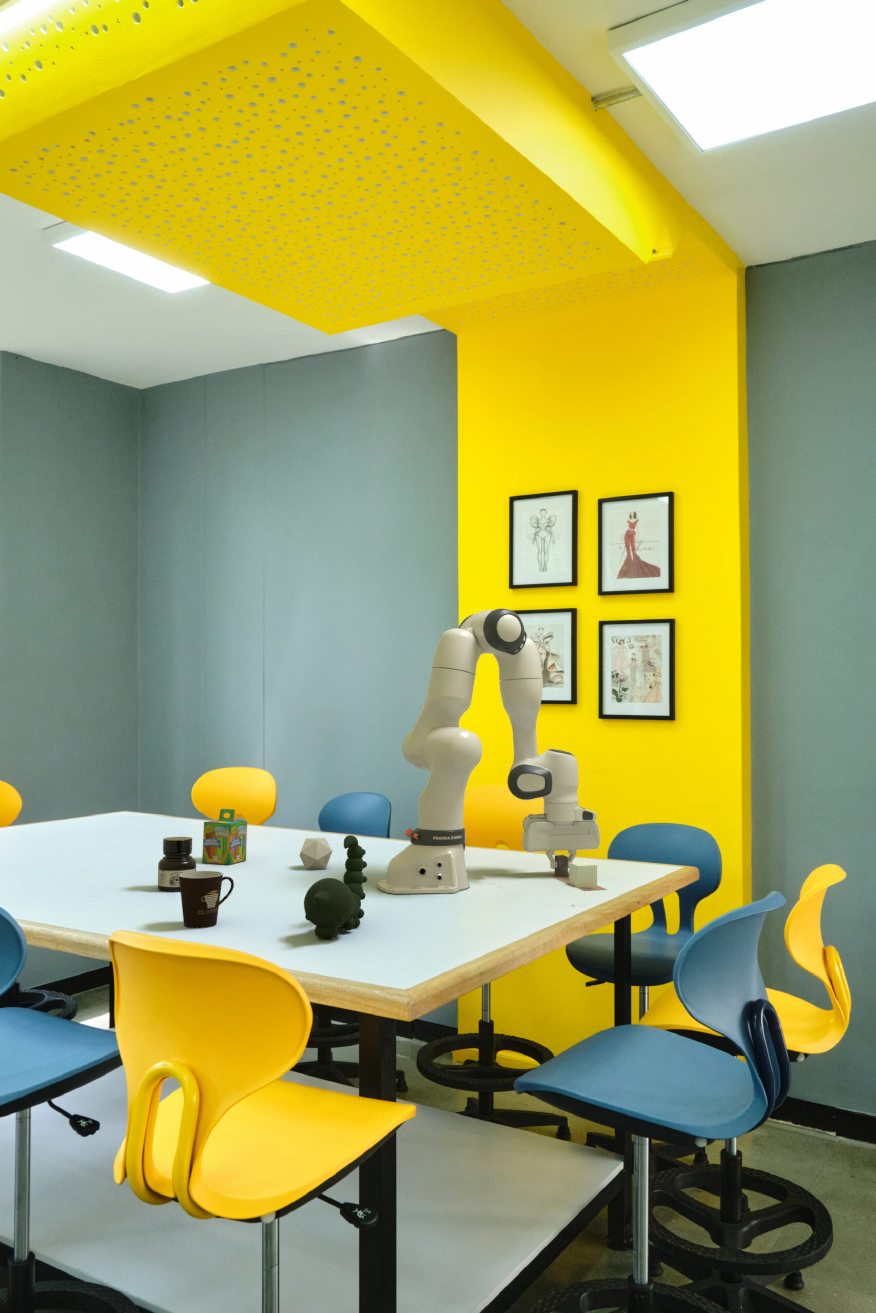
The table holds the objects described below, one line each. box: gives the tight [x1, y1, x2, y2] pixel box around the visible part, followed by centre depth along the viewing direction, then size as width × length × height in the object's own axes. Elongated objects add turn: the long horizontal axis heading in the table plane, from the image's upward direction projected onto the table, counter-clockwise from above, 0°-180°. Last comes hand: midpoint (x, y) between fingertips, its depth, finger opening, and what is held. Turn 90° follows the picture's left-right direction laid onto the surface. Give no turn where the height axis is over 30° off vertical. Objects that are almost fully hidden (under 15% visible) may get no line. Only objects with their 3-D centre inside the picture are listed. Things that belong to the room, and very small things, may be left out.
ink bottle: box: [157, 836, 197, 892], centre depth 234 cm, size 10×9×12 cm
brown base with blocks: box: [547, 854, 608, 892], centre depth 238 cm, size 6×22×6 cm, turn 16°
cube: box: [568, 861, 598, 888], centre depth 235 cm, size 5×5×5 cm
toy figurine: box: [303, 834, 368, 940], centre depth 190 cm, size 9×19×25 cm
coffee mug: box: [179, 870, 235, 929], centre depth 196 cm, size 12×9×10 cm
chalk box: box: [201, 808, 248, 866], centre depth 274 cm, size 9×9×15 cm
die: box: [299, 837, 333, 870], centre depth 264 cm, size 8×9×10 cm
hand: (561, 868), depth 247 cm, fingers closed on brown base with blocks, 2 cm apart
